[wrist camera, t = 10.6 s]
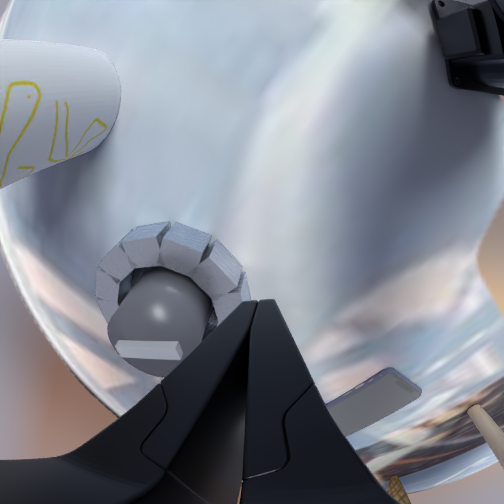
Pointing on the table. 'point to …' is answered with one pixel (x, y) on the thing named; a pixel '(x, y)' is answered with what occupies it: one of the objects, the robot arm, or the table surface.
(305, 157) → the table surface
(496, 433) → the planter
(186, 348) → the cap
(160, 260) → the segmented grey ring
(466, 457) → the table surface
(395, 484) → the ice cream cone
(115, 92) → the grey cylinder
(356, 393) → the smartphone
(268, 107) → the table surface
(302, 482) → the robot arm
